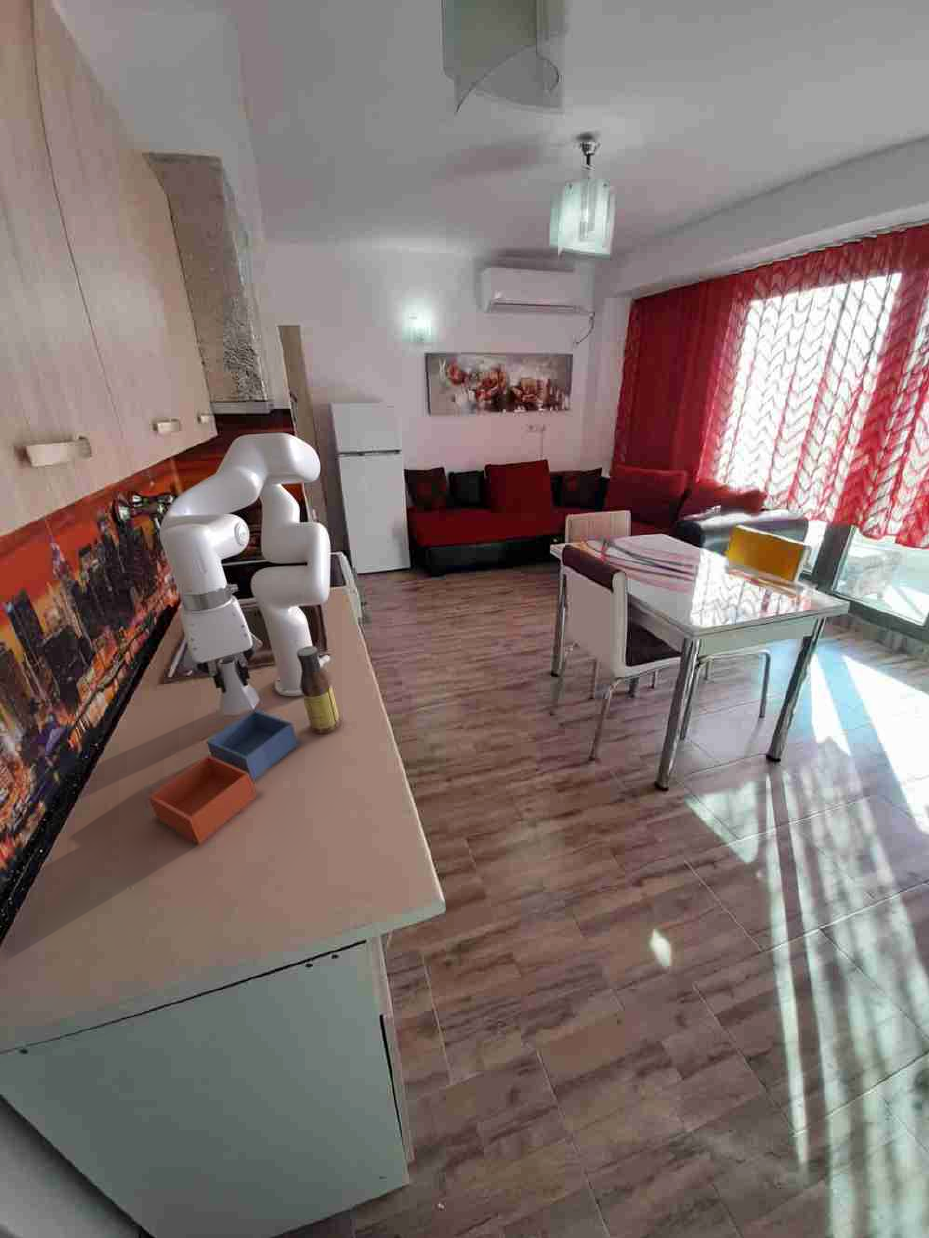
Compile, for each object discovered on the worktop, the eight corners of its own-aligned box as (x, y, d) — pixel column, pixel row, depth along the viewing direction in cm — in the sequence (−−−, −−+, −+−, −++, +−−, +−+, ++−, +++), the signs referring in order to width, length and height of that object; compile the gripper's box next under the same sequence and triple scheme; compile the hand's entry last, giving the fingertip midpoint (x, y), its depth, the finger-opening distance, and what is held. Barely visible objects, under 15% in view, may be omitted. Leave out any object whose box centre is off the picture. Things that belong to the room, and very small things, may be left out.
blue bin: (260, 729, 106) (254, 709, 104) (297, 744, 101) (292, 723, 99) (214, 763, 97) (206, 741, 95) (252, 781, 92) (245, 758, 89)
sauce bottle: (324, 715, 110) (307, 639, 101) (345, 721, 107) (330, 644, 99) (304, 732, 105) (285, 654, 96) (326, 738, 102) (308, 659, 94)
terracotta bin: (216, 776, 93) (208, 754, 91) (256, 796, 88) (249, 773, 86) (158, 819, 84) (147, 796, 82) (199, 844, 79) (189, 820, 77)
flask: (216, 719, 88) (201, 674, 83) (223, 698, 94) (209, 654, 90) (258, 711, 89) (244, 666, 85) (262, 691, 96) (249, 648, 91)
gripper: (252, 580, 88) (274, 664, 96) (151, 602, 81) (184, 691, 89) (259, 592, 83) (283, 680, 91) (151, 617, 75) (187, 711, 83)
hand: (234, 685), depth 90 cm, fingers closed on flask, 3 cm apart
